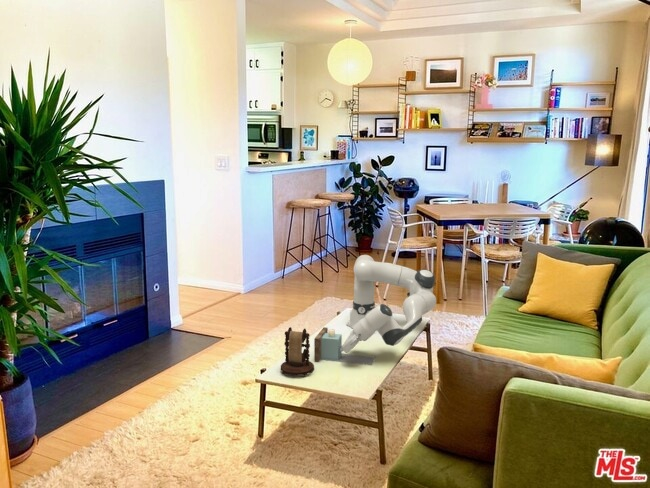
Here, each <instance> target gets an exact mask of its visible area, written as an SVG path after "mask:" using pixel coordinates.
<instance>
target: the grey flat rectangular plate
mask: <svg viewBox="0 0 650 488" xmlns="http://www.w3.org/2000/svg"><path fill="white" fill-rule="evenodd" d="M375 360H376V356H372V355H371V356H369V355H362V354H351V353H350V354H349V353H344V352H343V353H342V355H341V356H340V358H339V360H331V359H321V360H320V361H326V362H327V361H328V362H329V361H330V362H337V363H338V362H340V363H346V364H347V363H348V364H356V365H357V364H359V365H365V366H366V365H367V366H373V363H374V361H375Z"/></svg>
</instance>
